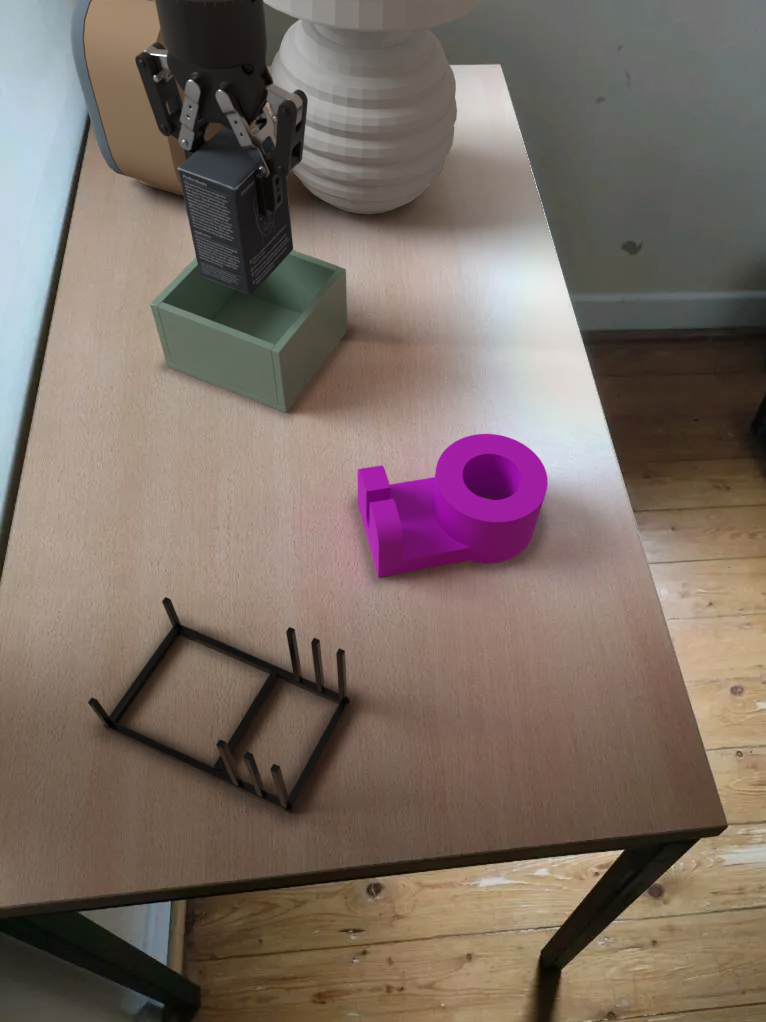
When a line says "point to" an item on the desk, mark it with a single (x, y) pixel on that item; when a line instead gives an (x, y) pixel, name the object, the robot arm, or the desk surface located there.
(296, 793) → the rack
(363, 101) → the table lamp
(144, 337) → the desk surface
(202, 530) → the desk surface
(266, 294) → the green storage bin
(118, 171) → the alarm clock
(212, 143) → the box
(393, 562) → the magenta mechanical bracket
